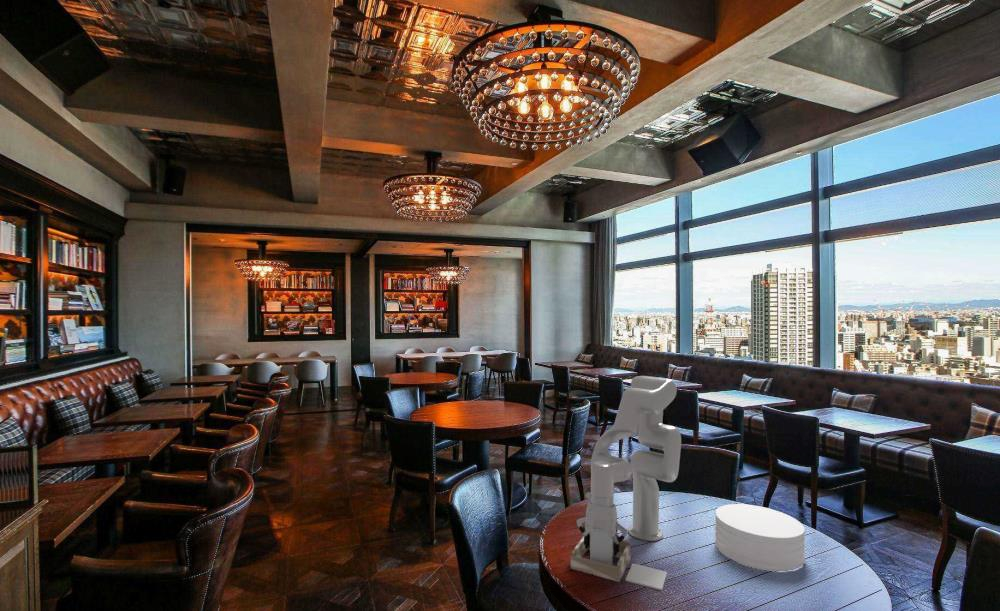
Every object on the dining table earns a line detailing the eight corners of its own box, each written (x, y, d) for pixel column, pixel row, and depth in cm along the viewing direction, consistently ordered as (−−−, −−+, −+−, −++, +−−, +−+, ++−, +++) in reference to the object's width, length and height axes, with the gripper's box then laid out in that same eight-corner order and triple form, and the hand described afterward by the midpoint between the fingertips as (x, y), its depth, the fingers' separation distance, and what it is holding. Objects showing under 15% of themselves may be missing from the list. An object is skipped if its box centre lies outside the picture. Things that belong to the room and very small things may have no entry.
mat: (632, 564, 160) (632, 563, 160) (667, 573, 155) (667, 571, 155) (625, 580, 150) (625, 579, 150) (661, 590, 145) (661, 589, 145)
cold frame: (585, 547, 171) (585, 530, 171) (630, 559, 164) (630, 541, 164) (570, 568, 157) (570, 550, 157) (619, 581, 150) (619, 562, 150)
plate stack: (719, 527, 190) (719, 498, 190) (802, 545, 176) (802, 514, 177) (710, 558, 166) (711, 524, 166) (806, 582, 152) (806, 545, 152)
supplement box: (612, 570, 156) (613, 531, 156) (589, 568, 158) (590, 529, 158) (612, 559, 163) (612, 522, 164) (590, 556, 165) (590, 520, 165)
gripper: (573, 498, 162) (573, 549, 161) (625, 508, 154) (624, 562, 153) (580, 490, 168) (579, 540, 168) (630, 500, 160) (629, 552, 160)
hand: (601, 550), depth 161 cm, fingers open, 9 cm apart
